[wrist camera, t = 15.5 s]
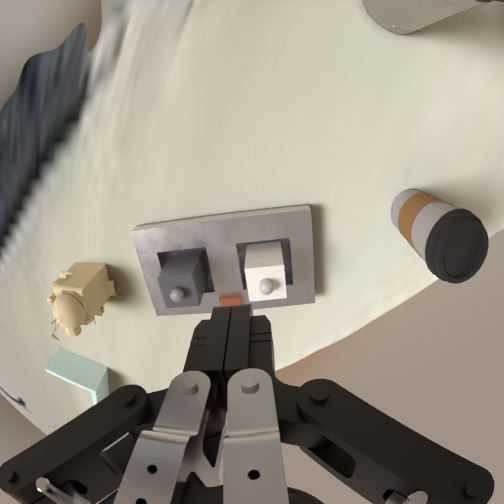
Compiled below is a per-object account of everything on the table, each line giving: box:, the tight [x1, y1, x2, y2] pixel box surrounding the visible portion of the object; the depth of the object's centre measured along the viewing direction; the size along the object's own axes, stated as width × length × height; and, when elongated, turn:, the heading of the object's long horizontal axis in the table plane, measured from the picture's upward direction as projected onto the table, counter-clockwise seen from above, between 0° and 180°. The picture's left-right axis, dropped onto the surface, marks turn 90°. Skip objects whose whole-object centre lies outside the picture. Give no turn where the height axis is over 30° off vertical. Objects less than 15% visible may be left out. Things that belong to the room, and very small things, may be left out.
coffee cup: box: [391, 190, 488, 284], centre depth 33 cm, size 8×8×15 cm
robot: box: [47, 263, 121, 340], centre depth 39 cm, size 10×8×15 cm
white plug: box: [244, 241, 287, 302], centre depth 39 cm, size 5×5×8 cm
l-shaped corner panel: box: [46, 347, 109, 406], centre depth 53 cm, size 12×12×8 cm
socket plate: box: [131, 204, 315, 316], centre depth 42 cm, size 14×24×3 cm, turn 97°
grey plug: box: [157, 250, 208, 308], centre depth 40 cm, size 5×5×8 cm
